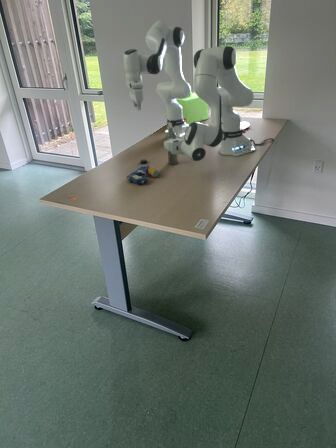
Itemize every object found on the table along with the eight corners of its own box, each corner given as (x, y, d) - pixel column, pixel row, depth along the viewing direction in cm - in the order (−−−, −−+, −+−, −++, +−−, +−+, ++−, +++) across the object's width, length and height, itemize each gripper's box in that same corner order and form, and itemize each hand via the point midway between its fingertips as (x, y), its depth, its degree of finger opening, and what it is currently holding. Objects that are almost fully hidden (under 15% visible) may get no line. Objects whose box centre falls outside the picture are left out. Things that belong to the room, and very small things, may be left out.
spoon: (243, 140, 236) (243, 137, 234) (228, 139, 239) (228, 137, 238) (251, 123, 262) (251, 121, 261) (237, 123, 266) (237, 120, 264)
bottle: (179, 163, 204) (177, 127, 192) (171, 165, 202) (168, 129, 190) (175, 160, 208) (172, 125, 196) (167, 162, 206) (164, 127, 195)
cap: (143, 161, 211) (142, 159, 211) (148, 162, 210) (147, 159, 209) (139, 163, 209) (139, 161, 208) (145, 164, 207) (144, 161, 206)
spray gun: (164, 171, 194) (142, 169, 200) (163, 164, 191) (141, 162, 198) (147, 187, 178) (123, 184, 185) (146, 179, 176) (122, 177, 182)
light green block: (191, 115, 302) (190, 88, 290) (208, 118, 288) (208, 90, 276) (170, 121, 289) (168, 93, 277) (187, 125, 275) (185, 95, 263)
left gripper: (125, 81, 193) (128, 105, 200) (132, 85, 176) (135, 112, 183) (135, 79, 194) (138, 104, 201) (143, 84, 177) (146, 111, 184)
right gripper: (205, 136, 176) (194, 129, 187) (168, 143, 171) (160, 136, 182) (205, 147, 179) (195, 140, 190) (169, 154, 174) (161, 147, 185)
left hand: (137, 108), depth 192 cm, fingers open, 8 cm apart
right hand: (177, 138), depth 186 cm, fingers open, 8 cm apart
